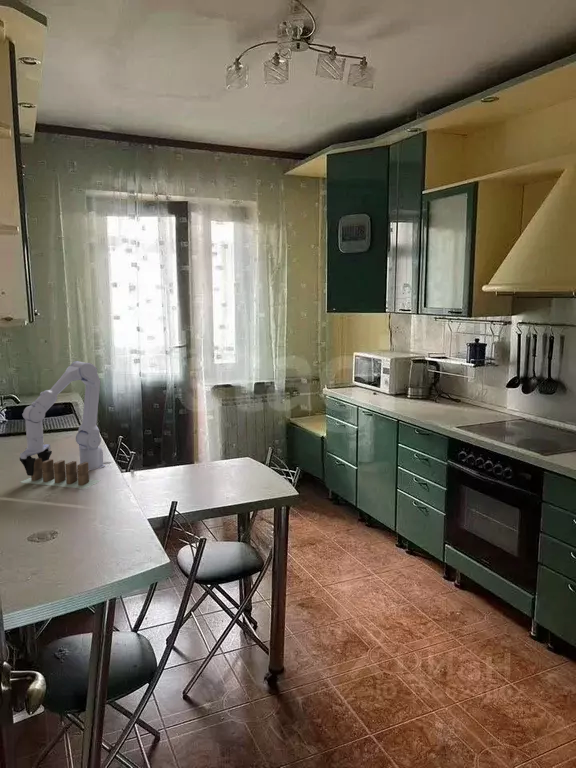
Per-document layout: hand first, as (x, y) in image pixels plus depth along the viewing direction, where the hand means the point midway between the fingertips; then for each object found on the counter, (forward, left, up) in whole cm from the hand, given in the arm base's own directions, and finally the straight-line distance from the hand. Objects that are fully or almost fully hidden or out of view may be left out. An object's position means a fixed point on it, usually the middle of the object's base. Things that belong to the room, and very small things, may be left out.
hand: (37, 472), depth 221 cm
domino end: (0, +20, -3) cm, 20 cm away
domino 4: (0, +15, -3) cm, 15 cm away
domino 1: (0, 0, -3) cm, 3 cm away
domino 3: (0, +10, -3) cm, 10 cm away
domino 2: (0, +5, -3) cm, 6 cm away
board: (0, +10, -3) cm, 10 cm away
